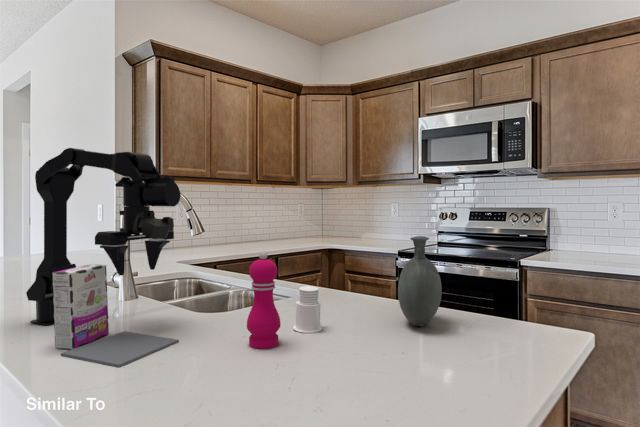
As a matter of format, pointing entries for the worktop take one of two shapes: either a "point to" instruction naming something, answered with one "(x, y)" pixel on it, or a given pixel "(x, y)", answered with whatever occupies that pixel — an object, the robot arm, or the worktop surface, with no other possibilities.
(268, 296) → the pepper mill
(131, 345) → the mat
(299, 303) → the downlight
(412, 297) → the flask
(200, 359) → the worktop surface
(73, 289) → the candy bar box
